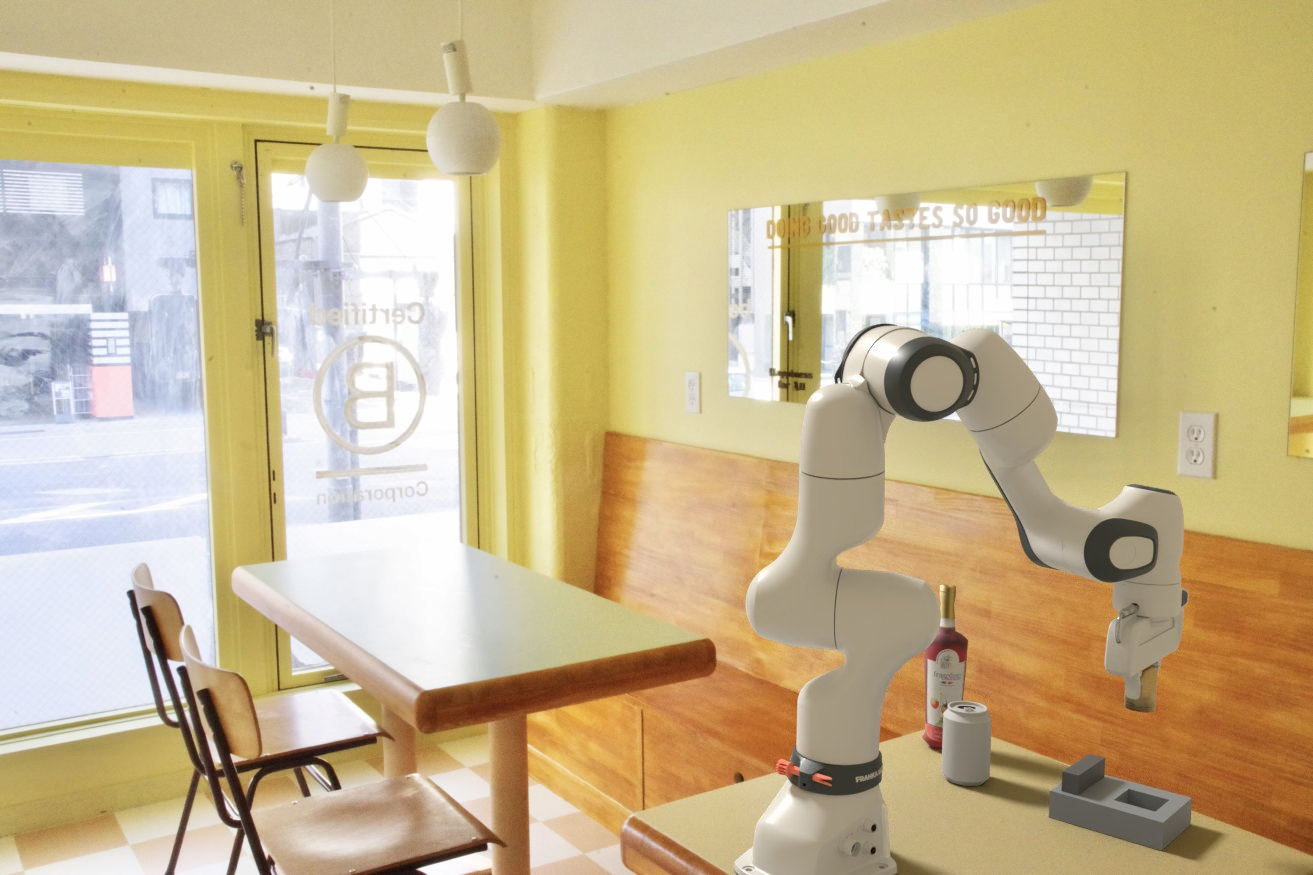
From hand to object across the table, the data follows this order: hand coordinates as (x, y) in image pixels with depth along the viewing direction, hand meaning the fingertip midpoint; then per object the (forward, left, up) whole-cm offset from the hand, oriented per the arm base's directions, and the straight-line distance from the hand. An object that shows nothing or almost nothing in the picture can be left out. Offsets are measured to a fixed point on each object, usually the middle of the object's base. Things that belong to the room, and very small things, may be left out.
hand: (1141, 692), depth 162 cm
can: (-1, +26, -20) cm, 33 cm away
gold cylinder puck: (0, 0, -2) cm, 2 cm away
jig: (0, +2, -20) cm, 20 cm away
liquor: (+10, +36, -20) cm, 43 cm away
